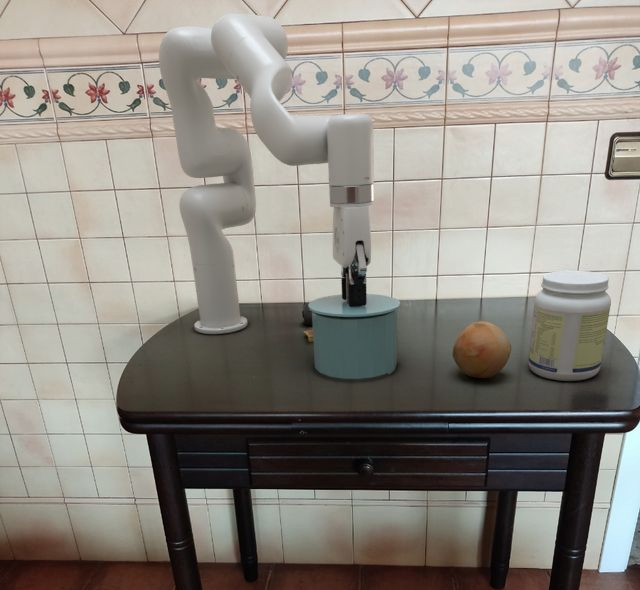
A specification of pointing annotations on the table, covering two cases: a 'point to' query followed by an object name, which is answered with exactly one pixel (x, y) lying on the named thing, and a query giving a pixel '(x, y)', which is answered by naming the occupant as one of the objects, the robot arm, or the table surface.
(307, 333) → the shard
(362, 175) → the robot arm
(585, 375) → the supplement tub
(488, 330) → the onion
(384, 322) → the pot
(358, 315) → the lid
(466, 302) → the table surface
